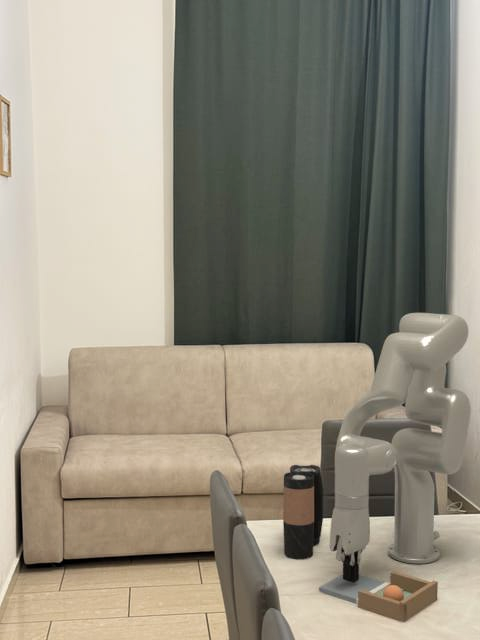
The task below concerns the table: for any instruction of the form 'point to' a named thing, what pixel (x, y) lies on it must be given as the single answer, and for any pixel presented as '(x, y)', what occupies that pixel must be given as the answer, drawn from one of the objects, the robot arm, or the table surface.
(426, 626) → the table surface
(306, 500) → the travel mug
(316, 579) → the table surface
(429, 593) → the lane
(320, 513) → the portable speaker
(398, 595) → the ball
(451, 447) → the robot arm
